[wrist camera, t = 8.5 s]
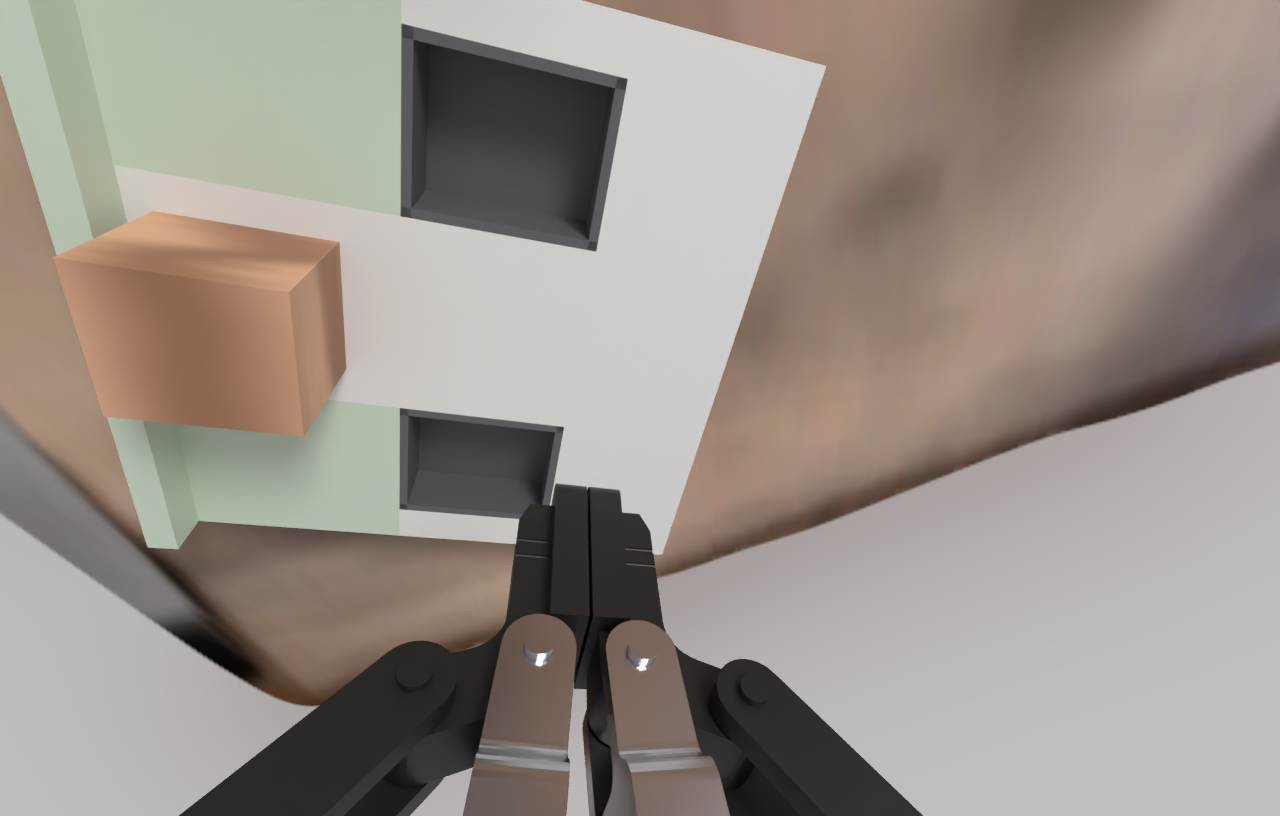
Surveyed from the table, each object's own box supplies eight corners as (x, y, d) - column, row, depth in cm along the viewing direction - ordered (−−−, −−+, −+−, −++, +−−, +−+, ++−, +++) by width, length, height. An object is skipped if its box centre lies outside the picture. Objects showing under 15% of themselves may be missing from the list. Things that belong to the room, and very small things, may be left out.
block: (339, 242, 18) (288, 292, 15) (346, 368, 20) (304, 436, 17) (153, 211, 17) (52, 257, 14) (182, 348, 19) (103, 416, 16)
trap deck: (797, 61, 19) (847, 70, 16) (654, 516, 29) (666, 580, 26) (66, -135, 15) (-79, -180, 11) (202, 477, 25) (147, 547, 22)
